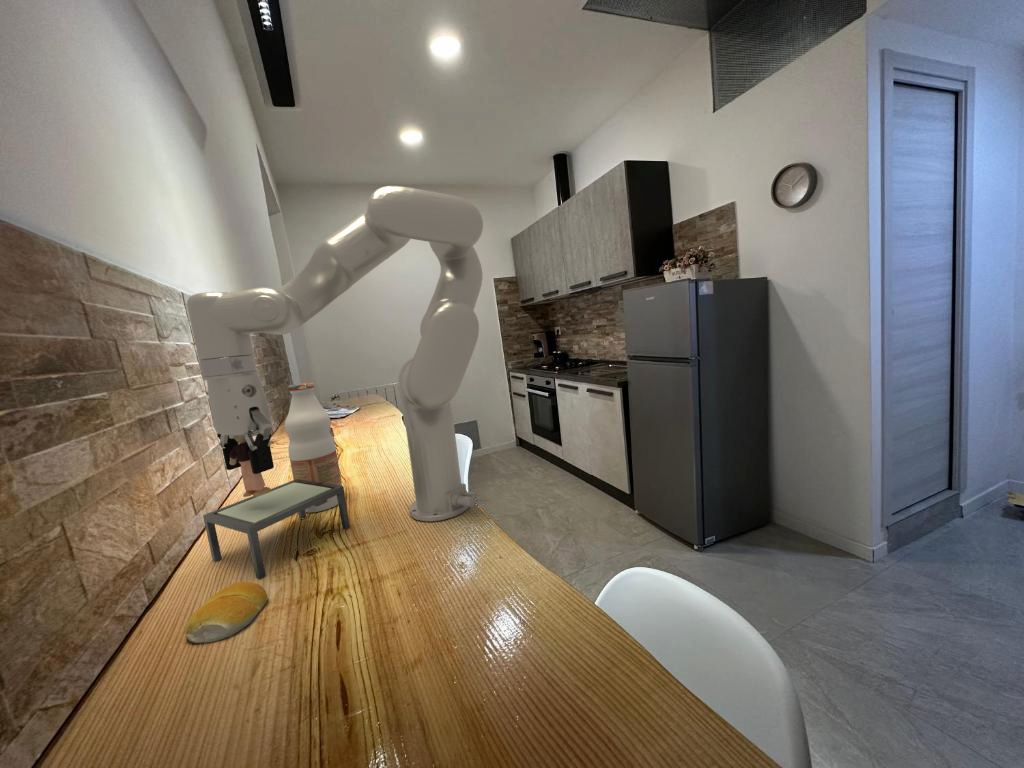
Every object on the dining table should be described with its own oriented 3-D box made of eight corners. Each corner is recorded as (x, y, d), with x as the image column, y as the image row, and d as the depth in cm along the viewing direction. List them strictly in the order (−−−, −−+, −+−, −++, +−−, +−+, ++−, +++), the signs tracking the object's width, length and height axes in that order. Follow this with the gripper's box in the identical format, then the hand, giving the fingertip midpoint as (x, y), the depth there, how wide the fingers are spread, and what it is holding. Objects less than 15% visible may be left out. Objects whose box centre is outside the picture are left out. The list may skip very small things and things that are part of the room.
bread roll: (277, 592, 57) (272, 567, 57) (243, 638, 49) (237, 609, 48) (217, 602, 57) (212, 577, 56) (172, 651, 48) (165, 622, 47)
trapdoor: (334, 503, 74) (331, 488, 74) (257, 540, 62) (254, 522, 62) (296, 496, 80) (294, 482, 80) (220, 528, 68) (216, 512, 68)
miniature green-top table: (350, 527, 76) (343, 486, 75) (259, 579, 61) (249, 528, 60) (303, 516, 83) (296, 478, 82) (212, 560, 68) (202, 515, 67)
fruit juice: (293, 517, 83) (269, 389, 80) (306, 500, 92) (285, 384, 89) (339, 508, 85) (318, 383, 82) (347, 492, 94) (329, 379, 91)
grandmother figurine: (282, 487, 69) (268, 418, 67) (267, 496, 65) (252, 423, 64) (244, 490, 70) (229, 422, 68) (226, 499, 66) (210, 427, 65)
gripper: (281, 362, 64) (301, 465, 66) (227, 368, 72) (246, 458, 74) (231, 368, 57) (254, 482, 59) (178, 374, 66) (200, 473, 68)
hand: (250, 468), depth 67 cm, fingers closed on grandmother figurine, 7 cm apart
